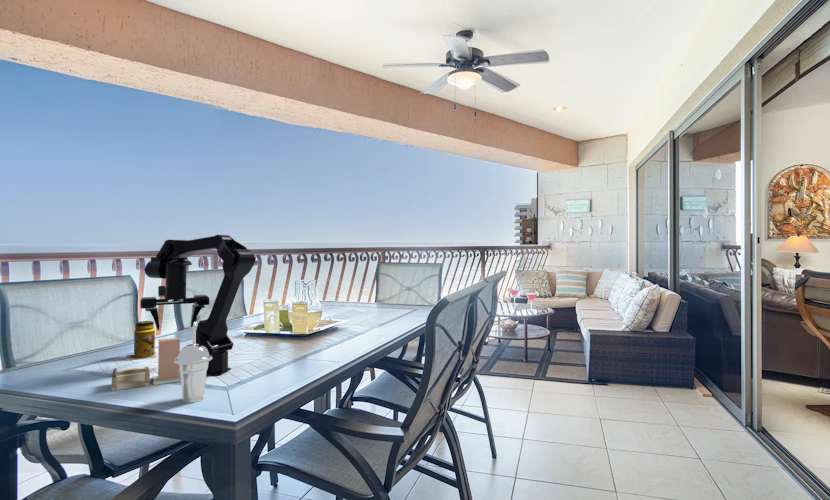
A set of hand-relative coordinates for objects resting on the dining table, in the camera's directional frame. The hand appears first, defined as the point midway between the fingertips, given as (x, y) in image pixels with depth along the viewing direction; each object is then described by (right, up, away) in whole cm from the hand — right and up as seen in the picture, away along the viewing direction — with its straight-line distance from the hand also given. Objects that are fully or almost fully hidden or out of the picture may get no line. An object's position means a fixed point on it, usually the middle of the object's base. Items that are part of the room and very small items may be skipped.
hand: (175, 328), depth 133 cm
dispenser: (-2, -12, -18) cm, 22 cm away
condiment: (-19, -12, +12) cm, 26 cm away
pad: (+5, -12, -13) cm, 18 cm away
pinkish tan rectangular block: (+5, -12, -13) cm, 18 cm away
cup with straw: (+21, -13, -28) cm, 37 cm away
